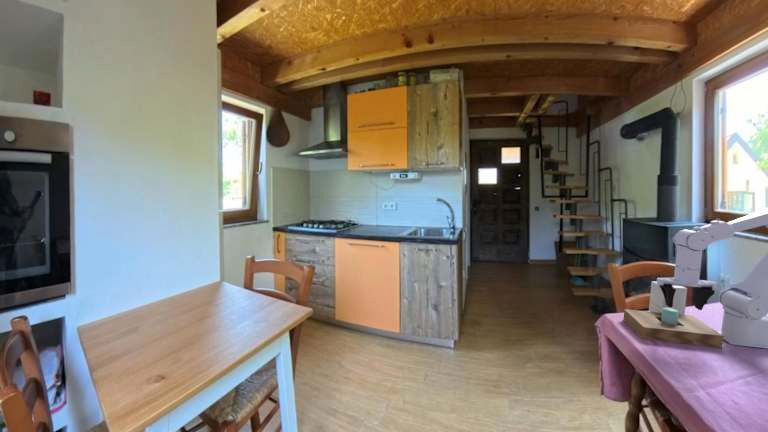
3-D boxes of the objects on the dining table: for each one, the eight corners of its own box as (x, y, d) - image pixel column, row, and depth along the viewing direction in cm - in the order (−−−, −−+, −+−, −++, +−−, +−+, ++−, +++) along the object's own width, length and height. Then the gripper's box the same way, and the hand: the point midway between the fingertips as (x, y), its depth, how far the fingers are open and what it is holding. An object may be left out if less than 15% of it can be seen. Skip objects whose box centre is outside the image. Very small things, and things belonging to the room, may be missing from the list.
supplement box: (684, 321, 108) (688, 288, 107) (661, 320, 110) (664, 287, 108) (669, 313, 116) (673, 281, 114) (647, 311, 117) (650, 280, 115)
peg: (671, 330, 103) (673, 308, 102) (679, 336, 99) (681, 313, 98) (657, 329, 104) (659, 307, 103) (664, 334, 100) (666, 311, 99)
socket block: (691, 326, 105) (692, 315, 104) (721, 348, 92) (723, 335, 91) (623, 319, 111) (624, 309, 110) (642, 338, 98) (644, 327, 97)
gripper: (666, 269, 95) (662, 310, 96) (726, 272, 90) (721, 315, 92) (654, 263, 101) (651, 301, 103) (709, 266, 97) (705, 306, 98)
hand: (683, 307), depth 98 cm, fingers open, 7 cm apart
